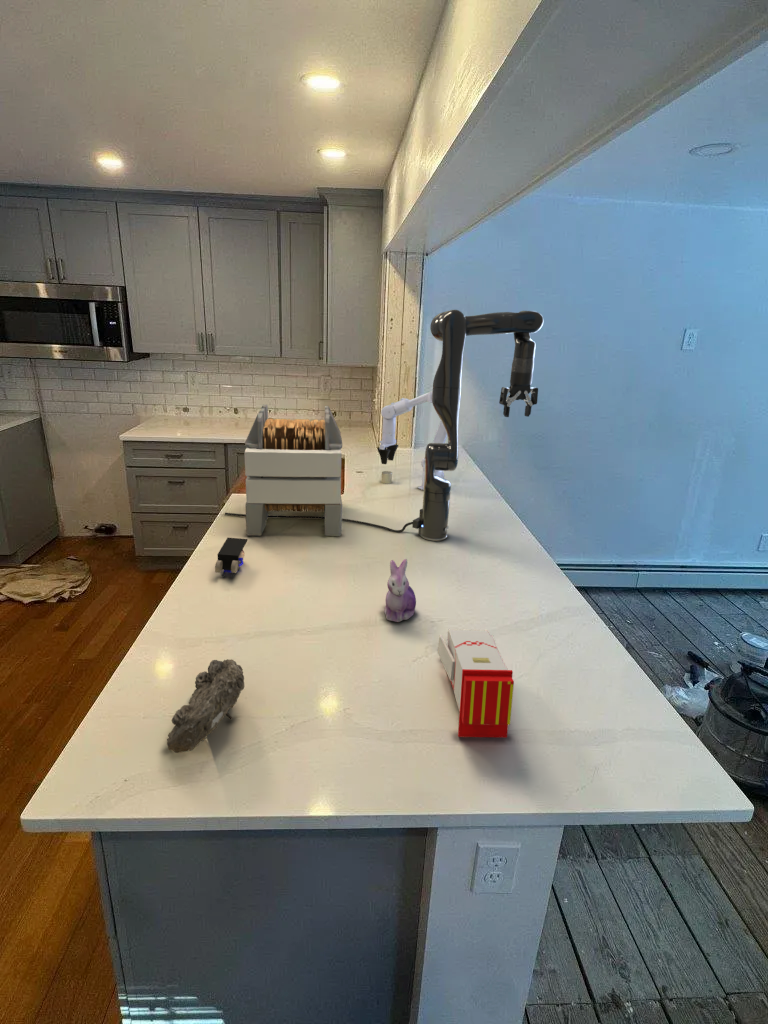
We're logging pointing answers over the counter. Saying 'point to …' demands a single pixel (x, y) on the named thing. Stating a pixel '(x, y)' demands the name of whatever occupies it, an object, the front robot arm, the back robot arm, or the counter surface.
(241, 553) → the figurine character
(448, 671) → the toy
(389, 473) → the can
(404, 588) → the figurine
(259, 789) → the counter surface
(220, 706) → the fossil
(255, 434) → the grey crate
